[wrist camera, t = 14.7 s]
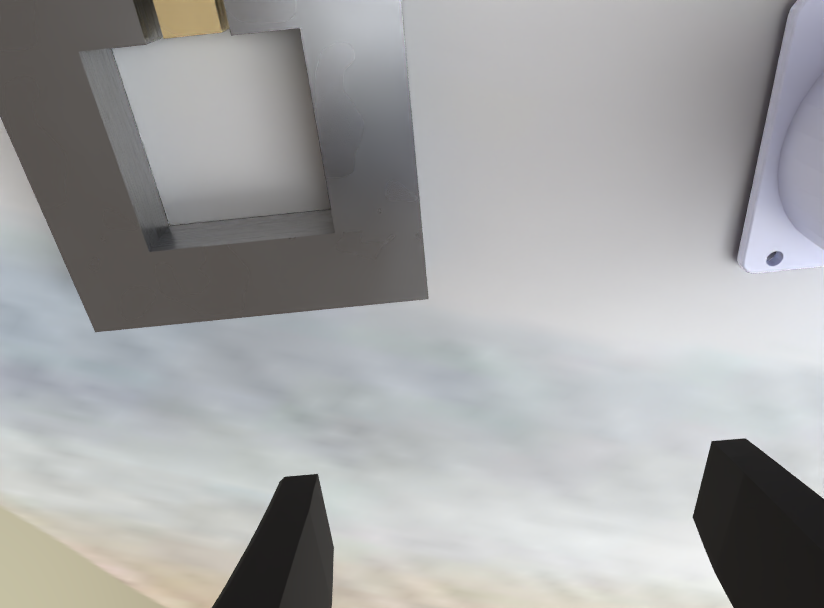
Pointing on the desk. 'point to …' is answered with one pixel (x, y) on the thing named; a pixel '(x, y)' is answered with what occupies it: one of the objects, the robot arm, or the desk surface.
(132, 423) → the desk surface
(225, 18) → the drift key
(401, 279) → the socket block
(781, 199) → the robot arm
